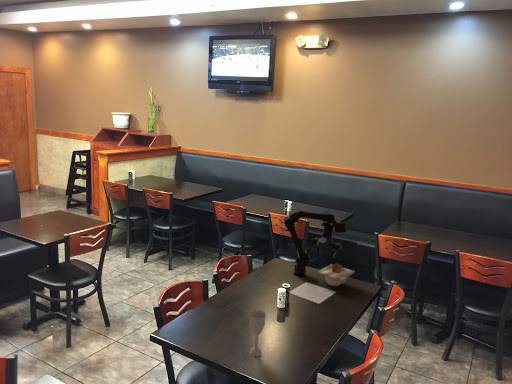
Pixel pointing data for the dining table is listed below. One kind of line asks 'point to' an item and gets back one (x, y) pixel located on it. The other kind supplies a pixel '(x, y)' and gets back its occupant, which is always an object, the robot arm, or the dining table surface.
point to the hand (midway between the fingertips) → (325, 256)
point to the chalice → (256, 328)
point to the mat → (312, 292)
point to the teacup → (334, 281)
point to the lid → (336, 271)
